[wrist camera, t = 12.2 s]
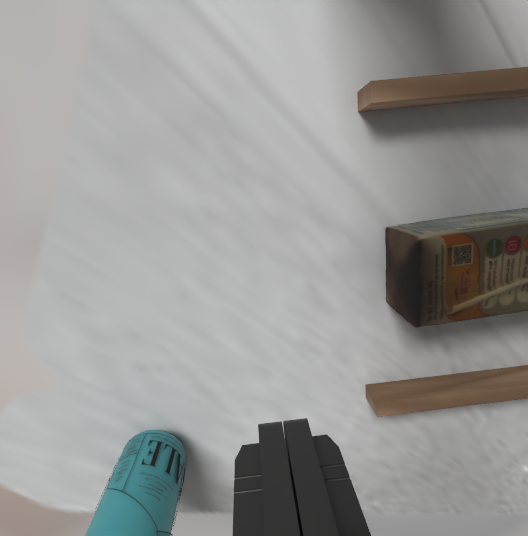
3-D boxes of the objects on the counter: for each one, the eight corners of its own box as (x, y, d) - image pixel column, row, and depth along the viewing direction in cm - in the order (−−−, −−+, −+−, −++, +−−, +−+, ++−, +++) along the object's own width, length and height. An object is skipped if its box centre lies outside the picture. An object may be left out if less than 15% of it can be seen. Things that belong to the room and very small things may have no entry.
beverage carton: (572, 279, 33) (649, 302, 27) (381, 306, 33) (415, 335, 26) (580, 198, 31) (666, 201, 25) (378, 225, 31) (413, 235, 25)
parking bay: (357, 92, 28) (372, 79, 25) (617, 68, 29) (666, 53, 25) (366, 397, 35) (378, 419, 32) (575, 372, 36) (609, 391, 32)
